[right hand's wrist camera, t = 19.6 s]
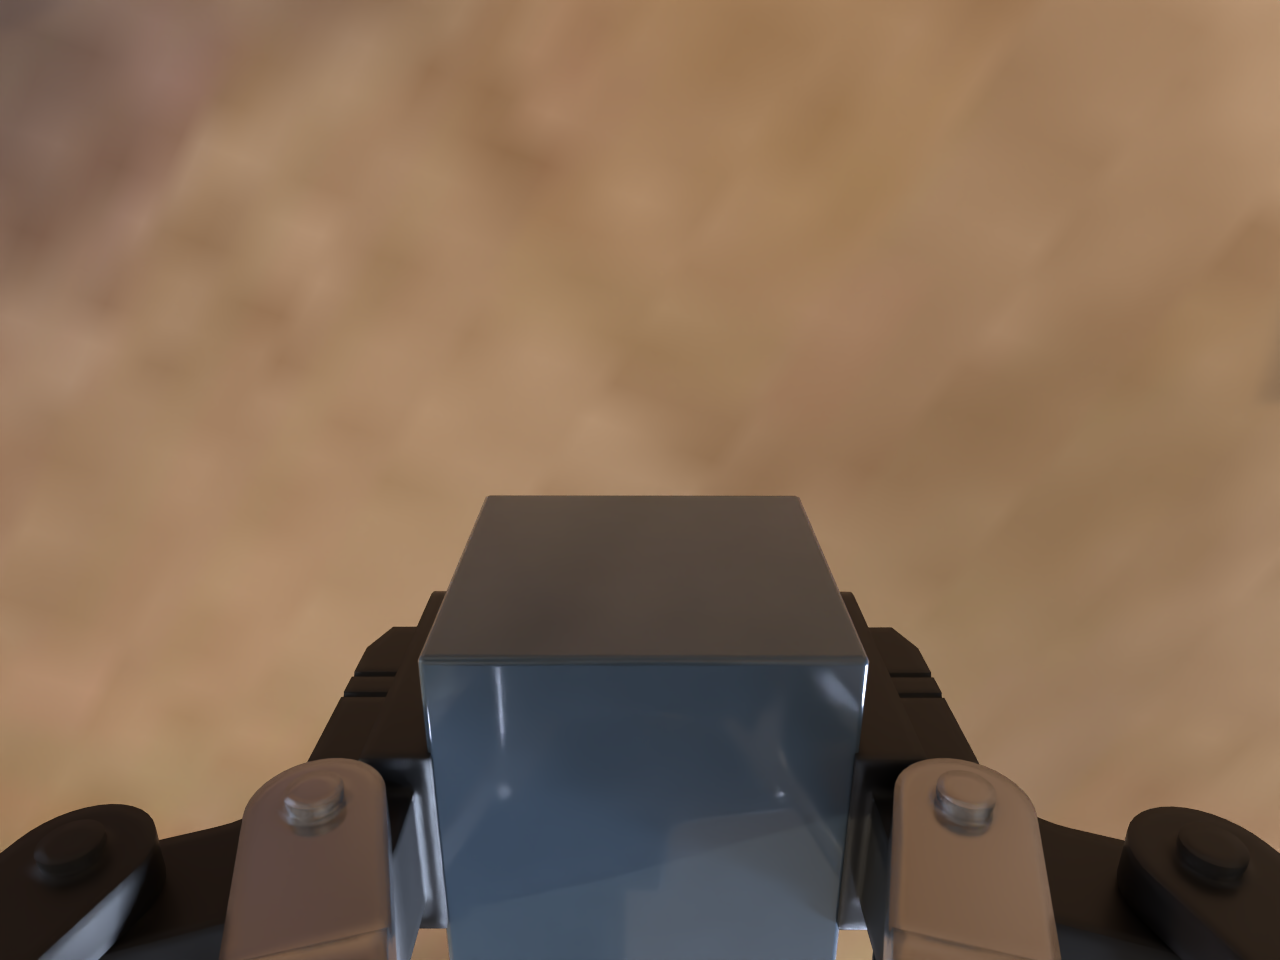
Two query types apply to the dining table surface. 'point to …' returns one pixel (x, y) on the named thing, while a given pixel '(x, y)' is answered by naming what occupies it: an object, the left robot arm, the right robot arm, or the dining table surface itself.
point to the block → (642, 731)
